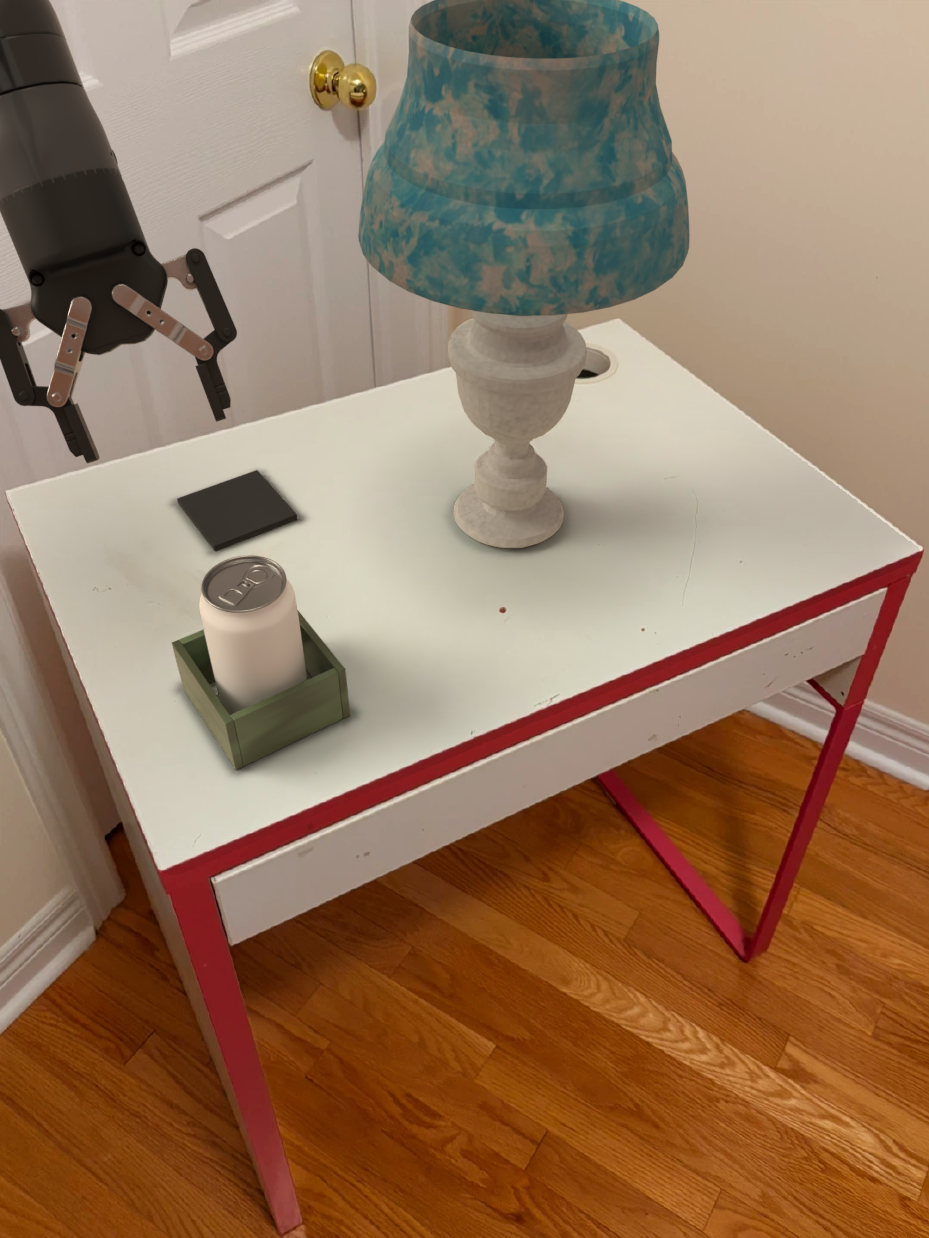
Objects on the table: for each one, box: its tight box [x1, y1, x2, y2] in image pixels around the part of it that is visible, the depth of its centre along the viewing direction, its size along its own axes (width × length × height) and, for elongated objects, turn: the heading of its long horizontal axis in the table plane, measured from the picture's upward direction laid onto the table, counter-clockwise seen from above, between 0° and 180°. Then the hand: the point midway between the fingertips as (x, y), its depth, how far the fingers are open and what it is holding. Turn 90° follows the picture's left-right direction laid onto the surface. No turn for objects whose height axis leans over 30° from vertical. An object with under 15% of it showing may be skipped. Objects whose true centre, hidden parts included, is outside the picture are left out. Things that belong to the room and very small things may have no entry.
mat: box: [176, 469, 298, 552], centre depth 94 cm, size 8×8×1 cm
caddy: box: [171, 610, 351, 771], centre depth 76 cm, size 9×9×5 cm
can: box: [198, 554, 308, 715], centre depth 74 cm, size 6×6×12 cm
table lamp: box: [357, 0, 691, 549], centre depth 80 cm, size 24×24×40 cm
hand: (158, 440), depth 68 cm, fingers open, 8 cm apart
